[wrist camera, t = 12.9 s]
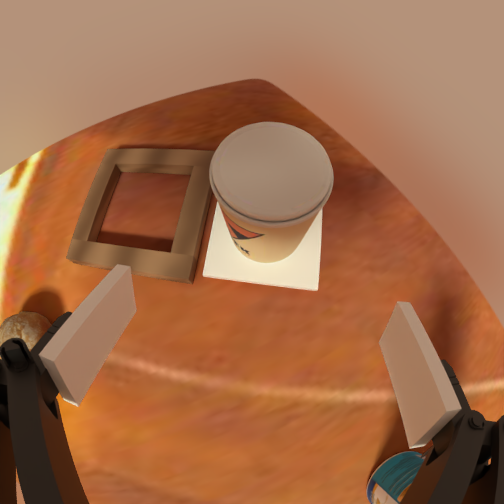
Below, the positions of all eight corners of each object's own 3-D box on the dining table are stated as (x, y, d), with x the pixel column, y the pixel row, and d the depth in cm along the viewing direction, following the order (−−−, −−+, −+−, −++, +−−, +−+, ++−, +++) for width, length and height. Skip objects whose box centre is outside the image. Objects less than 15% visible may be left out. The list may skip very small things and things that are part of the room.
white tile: (203, 276, 30) (202, 274, 30) (223, 180, 34) (222, 178, 34) (316, 290, 30) (317, 289, 29) (321, 192, 34) (322, 190, 33)
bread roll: (70, 318, 32) (32, 283, 27) (75, 385, 25) (25, 355, 20) (27, 343, 31) (-10, 313, 25) (28, 405, 24) (-19, 379, 18)
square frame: (74, 263, 31) (66, 258, 29) (112, 157, 36) (107, 149, 34) (192, 284, 30) (188, 279, 28) (219, 160, 35) (218, 151, 34)
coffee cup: (212, 208, 32) (193, 137, 21) (288, 183, 33) (301, 109, 22) (240, 284, 29) (232, 240, 18) (322, 253, 31) (358, 197, 19)
